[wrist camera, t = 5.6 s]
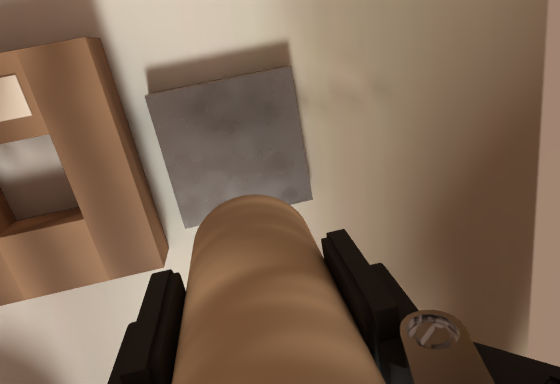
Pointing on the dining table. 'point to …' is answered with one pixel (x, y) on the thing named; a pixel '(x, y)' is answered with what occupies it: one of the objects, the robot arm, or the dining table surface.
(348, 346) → the peg
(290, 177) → the plate
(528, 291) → the dining table surface
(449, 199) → the dining table surface
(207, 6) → the dining table surface
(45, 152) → the dining table surface
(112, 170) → the hole board
